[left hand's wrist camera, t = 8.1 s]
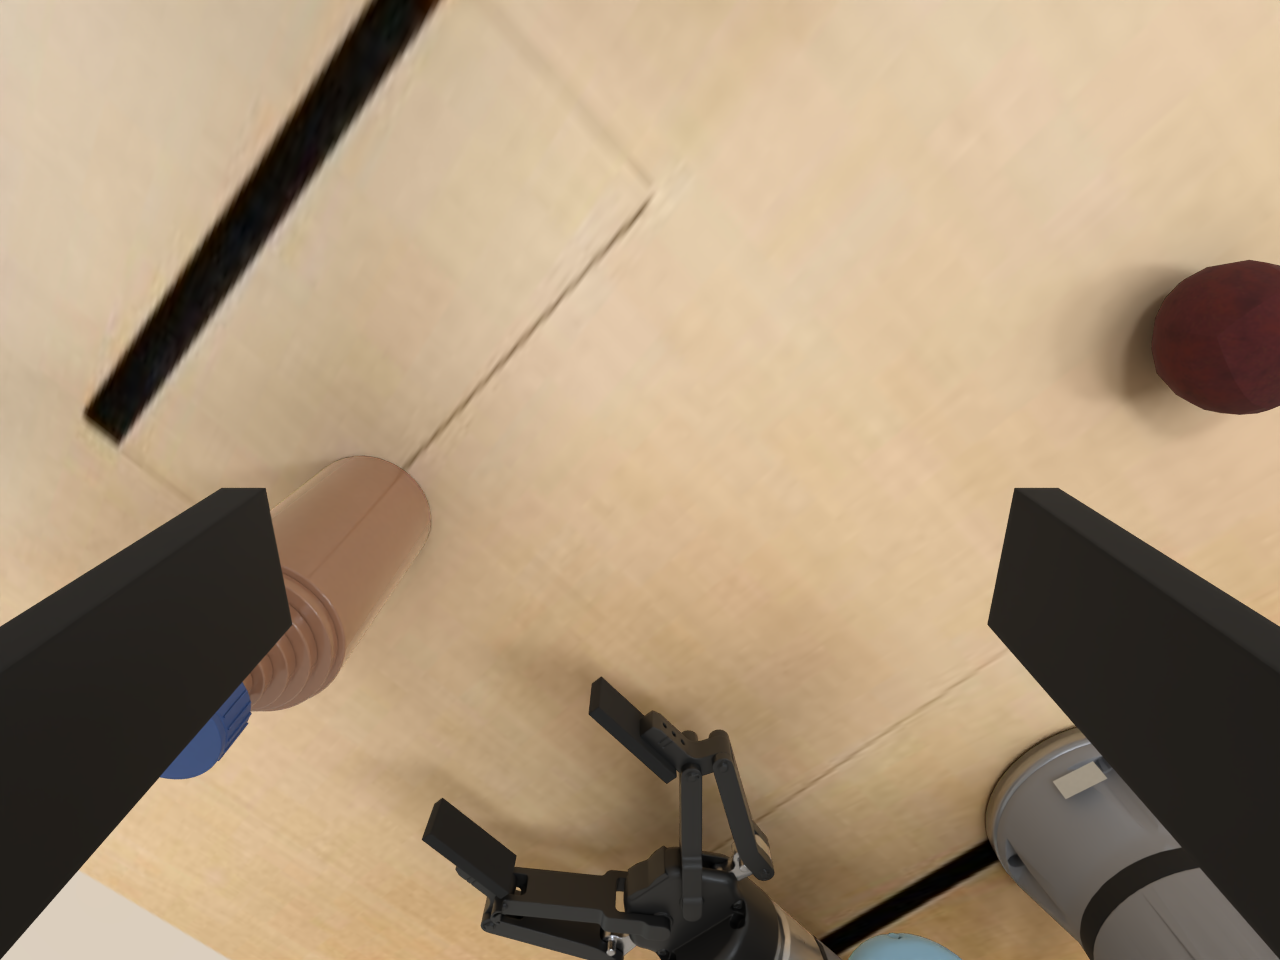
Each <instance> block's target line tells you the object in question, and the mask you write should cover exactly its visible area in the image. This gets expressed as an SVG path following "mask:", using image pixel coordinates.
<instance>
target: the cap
mask: <svg viewBox="0 0 1280 960" xmlns="http://www.w3.org/2000/svg"><path fill="white" fill-rule="evenodd" d="M250 715H251V700H250V697H249V694H248V691H247V689H246V687H245V685H244V683H243V682H242V683H241V684H240V685H239V686H238V688H237V689H236V690H235V691H234V692H233V693H232V695H231V696H230V697H229V698H228V699H227V700H226V701H225V703H224V704H223V705H222V706H221V707H220V708H219V709H218V711H217V712H216V713H215V714H214V715H213V716H212V717H211V719H210V720H209V721H208V722H207V723H206V724H205V725H204V727H203V728H202V729H201V730H200V731H199V732H198V734H197V735H196V736H195V737H194V738H193V739H192V740H191V742H190V743H189V744H188V745H187V746H186V747H185V748H184V750H183V751H182V752H181V753H180V754H179V755H178V756H177V758H176V759H175V760H174V761H173V762H172V763H171V764H170V766H169V767H168V768H167V769H166V770H165V771H164V773H163V774H162V775H161V776H160V777H161V778H167V779H187V778H192V777H196V776H198V775H201V774H203V773H204V772H206V771H208V770H209V769H210V768H212V767H213V765H214V764H215V763H216V762H217V761H219V760H220V759H221V758H222V756H223V755H224V754H225V753H226V751H227V750H228V749H229V748H230V746H231V745H232V744H233V743H234V741H235V740H236V739H237V737H238V736H239V735H240V734H241V732H242V731H243V730H244V728H245V727H246V726H247V725H248V723H247V721H248V719H249V717H250Z"/></svg>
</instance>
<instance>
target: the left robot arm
mask: <svg viewBox="0 0 1280 960" xmlns="http://www.w3.org/2000/svg"><path fill="white" fill-rule="evenodd" d="M292 625H293V624H292V619H291V614H290V609H289V604H288V599H287V594H286V589H285V584H284V579H283V574H282V569H281V564H280V559H279V554H278V549H277V544H276V539H275V534H274V529H273V524H272V519H271V514H270V508H269V503H268V498H267V493H266V488H221V489H219V490H218V491H216V492H215V493H213V494H211V495H210V496H208V497H207V498H205V499H203V500H202V501H200V502H199V503H197V504H195V505H194V506H192V507H191V508H189V509H187V510H186V511H184V512H183V513H181V514H179V515H178V516H176V517H175V518H173V519H171V520H170V521H168V522H167V523H165V524H163V525H162V526H160V527H159V528H157V529H155V530H154V531H152V532H151V533H149V534H147V535H146V536H144V537H143V538H141V539H140V540H138V541H136V542H135V543H133V544H132V545H130V546H128V547H127V548H125V549H124V550H122V551H120V552H119V553H117V554H116V555H114V556H112V557H111V558H109V559H108V560H106V561H104V562H103V563H101V564H100V565H98V566H96V567H95V568H93V569H92V570H90V571H88V572H87V573H85V574H84V575H82V576H80V577H79V578H77V579H76V580H74V581H72V582H71V583H69V584H68V585H66V586H64V587H63V588H61V589H60V590H58V591H56V592H55V593H53V594H52V595H50V596H48V597H47V598H45V599H44V600H42V601H41V602H39V603H37V604H36V605H34V606H33V607H31V608H29V609H28V610H26V611H25V612H23V613H21V614H20V615H18V616H17V617H15V618H13V619H12V620H10V621H9V622H7V623H5V624H4V625H2V626H1V627H0V959H1V958H2V957H3V956H4V955H5V954H6V953H7V951H8V950H9V949H10V948H11V947H12V946H13V945H14V943H15V942H16V941H17V940H18V939H19V938H20V936H21V935H22V934H23V933H24V932H25V931H26V930H27V928H28V927H29V926H30V925H31V924H32V923H33V922H34V920H35V919H36V918H37V917H38V916H39V915H40V914H41V912H42V911H43V910H44V909H45V908H46V907H47V906H48V904H49V903H50V902H51V901H52V900H53V899H54V897H55V896H56V895H57V894H58V893H59V892H60V891H61V889H62V888H63V887H64V886H65V885H66V884H67V883H68V881H69V880H70V879H71V878H72V877H73V876H74V875H75V873H76V872H77V871H78V870H79V869H80V868H81V867H82V865H83V864H84V863H85V862H86V861H87V860H88V859H89V857H90V856H91V855H92V854H93V853H94V852H95V850H96V849H97V848H98V847H99V846H100V845H101V844H102V842H103V841H104V840H105V839H106V838H107V837H108V836H109V834H110V833H111V832H112V831H113V830H114V829H115V828H116V826H117V825H118V824H119V823H120V822H121V821H122V820H123V818H124V817H125V816H126V815H127V814H128V813H129V811H130V810H131V809H132V808H133V807H134V806H135V805H136V803H137V802H138V801H139V800H140V799H141V798H142V797H143V795H144V794H145V793H146V792H147V791H148V790H149V789H150V787H151V786H152V785H153V784H154V783H155V782H156V781H157V779H158V778H159V777H160V776H161V775H162V774H163V773H164V771H165V770H166V769H167V768H168V767H169V766H170V764H171V763H172V762H173V761H174V760H175V759H176V758H177V756H178V755H179V754H180V753H181V752H182V751H183V750H184V748H185V747H186V746H187V745H188V744H189V743H190V742H191V740H192V739H193V738H194V737H195V736H196V735H197V734H198V732H199V731H200V730H201V729H202V728H203V727H204V725H205V724H206V723H207V722H208V721H209V720H210V719H211V717H212V716H213V715H214V714H215V713H216V712H217V711H218V709H219V708H220V707H221V706H222V705H223V704H224V703H225V701H226V700H227V699H228V698H229V697H230V696H231V695H232V693H233V692H234V691H235V690H236V689H237V688H238V686H239V685H240V684H241V683H242V682H243V681H244V680H245V678H246V677H247V676H248V675H249V674H250V673H251V672H252V670H253V669H254V668H255V667H256V666H257V665H258V664H259V662H260V661H261V660H262V659H263V658H264V657H265V656H266V654H267V653H268V652H269V651H270V650H271V649H272V648H273V646H274V645H275V644H276V643H277V642H278V641H279V639H280V638H281V637H282V636H283V635H284V634H285V633H286V631H287V630H288V629H289V628H290V627H291V626H292ZM987 625H988V626H989V627H990V628H991V629H992V630H993V631H994V633H995V634H996V635H997V636H998V637H999V638H1000V639H1001V641H1002V642H1003V643H1004V644H1005V645H1006V646H1007V648H1008V649H1009V650H1010V651H1011V652H1012V653H1013V654H1014V656H1015V657H1016V658H1017V659H1018V660H1019V661H1020V662H1021V664H1022V665H1023V666H1024V667H1025V668H1026V669H1027V670H1028V672H1029V673H1030V674H1031V675H1032V676H1033V677H1034V678H1035V680H1036V681H1037V682H1038V683H1039V684H1040V685H1041V686H1042V688H1043V689H1044V690H1045V691H1046V692H1047V693H1048V695H1049V696H1050V697H1051V698H1052V699H1053V700H1054V701H1055V703H1056V704H1057V705H1058V706H1059V707H1060V708H1061V709H1062V711H1063V712H1064V713H1065V714H1066V715H1067V716H1068V717H1069V719H1070V720H1071V721H1072V722H1073V723H1074V724H1075V725H1076V727H1077V728H1078V729H1079V730H1080V731H1081V732H1082V734H1083V735H1084V736H1085V737H1086V738H1087V739H1088V740H1089V742H1090V743H1091V744H1092V745H1093V746H1094V747H1095V748H1096V750H1097V751H1098V752H1099V753H1100V754H1101V755H1102V756H1103V758H1104V759H1105V760H1106V761H1107V762H1108V763H1109V764H1110V766H1111V767H1112V768H1113V769H1114V770H1115V771H1116V773H1117V774H1118V775H1119V776H1120V777H1121V778H1122V779H1123V781H1124V782H1125V783H1126V784H1127V785H1128V786H1129V787H1130V789H1131V790H1132V791H1133V792H1134V793H1135V794H1136V795H1137V797H1138V798H1139V799H1140V800H1141V801H1142V802H1143V803H1144V805H1145V806H1146V807H1147V808H1148V809H1149V810H1150V811H1151V813H1152V814H1153V815H1154V816H1155V817H1156V818H1157V820H1158V821H1159V822H1160V823H1161V824H1162V825H1163V826H1164V828H1165V829H1166V830H1167V831H1168V832H1169V833H1170V834H1171V836H1172V837H1173V838H1174V839H1175V840H1176V841H1177V842H1178V844H1179V845H1180V846H1181V847H1182V848H1183V849H1184V850H1185V852H1186V853H1187V854H1188V855H1189V856H1190V857H1191V859H1192V860H1193V861H1194V862H1195V863H1196V864H1197V865H1198V867H1199V868H1200V869H1201V870H1202V871H1203V872H1204V873H1205V875H1206V876H1207V877H1208V878H1209V879H1210V880H1211V881H1212V883H1213V884H1214V885H1215V886H1216V887H1217V888H1218V889H1219V891H1220V892H1221V893H1222V894H1223V895H1224V896H1225V898H1226V899H1227V900H1228V901H1229V902H1230V903H1231V904H1232V906H1233V907H1234V908H1235V909H1236V910H1237V911H1238V912H1239V914H1240V915H1241V916H1242V917H1243V918H1244V919H1245V920H1246V922H1247V923H1248V924H1249V925H1250V926H1251V927H1252V928H1253V930H1254V931H1255V932H1256V933H1257V934H1258V935H1259V936H1260V938H1261V939H1262V940H1263V941H1264V942H1265V943H1266V945H1267V946H1268V947H1269V948H1270V949H1271V950H1272V951H1273V953H1274V954H1275V955H1276V956H1277V957H1278V958H1279V959H1280V627H1279V626H1278V625H1276V624H1275V623H1273V622H1271V621H1270V620H1268V619H1267V618H1265V617H1263V616H1262V615H1260V614H1259V613H1257V612H1255V611H1254V610H1252V609H1251V608H1249V607H1247V606H1246V605H1244V604H1243V603H1241V602H1239V601H1238V600H1236V599H1235V598H1233V597H1232V596H1230V595H1228V594H1227V593H1225V592H1224V591H1222V590H1220V589H1219V588H1217V587H1216V586H1214V585H1212V584H1211V583H1209V582H1208V581H1206V580H1204V579H1203V578H1201V577H1200V576H1198V575H1196V574H1195V573H1193V572H1192V571H1190V570H1188V569H1187V568H1185V567H1184V566H1182V565H1180V564H1179V563H1177V562H1176V561H1174V560H1172V559H1171V558H1169V557H1168V556H1166V555H1164V554H1163V553H1161V552H1160V551H1158V550H1156V549H1155V548H1153V547H1152V546H1150V545H1148V544H1147V543H1145V542H1144V541H1142V540H1140V539H1139V538H1137V537H1136V536H1134V535H1133V534H1131V533H1129V532H1128V531H1126V530H1125V529H1123V528H1121V527H1120V526H1118V525H1117V524H1115V523H1113V522H1112V521H1110V520H1109V519H1107V518H1105V517H1104V516H1102V515H1101V514H1099V513H1097V512H1096V511H1094V510H1093V509H1091V508H1089V507H1088V506H1086V505H1085V504H1083V503H1081V502H1080V501H1078V500H1077V499H1075V498H1073V497H1072V496H1070V495H1069V494H1067V493H1065V492H1064V491H1062V490H1061V489H1059V488H1014V493H1013V498H1012V503H1011V508H1010V513H1009V519H1008V524H1007V529H1006V534H1005V539H1004V544H1003V549H1002V554H1001V559H1000V564H999V569H998V574H997V579H996V584H995V589H994V594H993V599H992V604H991V609H990V614H989V619H988V624H987Z"/></svg>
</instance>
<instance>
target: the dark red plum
mask: <svg viewBox="0 0 1280 960" xmlns="http://www.w3.org/2000/svg"><path fill="white" fill-rule="evenodd" d="M1152 353H1153V358H1154V362H1155V367H1156V372H1157V374H1158V375H1159V376H1160V377H1161V378H1162V379H1163V381H1164V382H1165V383H1166V384H1167V385H1168V386H1169V387H1170V388H1171V389H1172V390H1173V392H1174V393H1175V394H1176V395H1178V396H1180V397H1181V398H1183V399H1185V400H1187V401H1188V402H1190V403H1192V404H1194V405H1196V406H1198V407H1200V408H1202V409H1204V410H1209V411H1214V412H1219V413H1227V414H1238V415H1242V414H1254V413H1260V412H1264V411H1267V410H1270V409H1273V408H1275V407H1278V406H1280V266H1279V265H1274V264H1270V263H1265V262H1259V261H1253V260H1246V261H1240V262H1235V263H1229V264H1223V265H1218V266H1212V267H1207V268H1205V269H1203V270H1201V271H1199V272H1197V273H1195V274H1194V275H1192V276H1190V277H1188V278H1186V279H1184V280H1183V281H1182V282H1180V283H1179V284H1178V285H1177V286H1176V287H1175V288H1174V289H1173V291H1172V292H1171V293H1170V294H1169V295H1168V296H1167V297H1166V298H1165V299H1164V301H1163V303H1162V305H1161V307H1160V310H1159V312H1158V314H1157V316H1156V318H1155V324H1154V331H1153V337H1152Z"/></svg>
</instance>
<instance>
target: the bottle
mask: <svg viewBox="0 0 1280 960" xmlns="http://www.w3.org/2000/svg"><path fill="white" fill-rule="evenodd" d="M270 514H271V519H272V524H273V529H274V534H275V539H276V544H277V549H278V554H279V559H280V564H281V569H282V574H283V579H284V584H285V589H286V594H287V599H288V604H289V609H290V614H291V619H292V624H293V625H292V626H291V627H290V628H289V629H288V630H287V631H286V633H285V634H284V635H283V636H282V637H281V638H280V639H279V641H278V642H277V643H276V644H275V645H274V646H273V648H272V649H271V650H270V651H269V652H268V653H267V654H266V656H265V657H264V658H263V659H262V660H261V661H260V662H259V664H258V665H257V666H256V667H255V668H254V669H253V670H252V672H251V673H250V674H249V675H248V676H247V677H246V678H245V680H244V681H243V683H244V685H245V687H246V689H247V691H248V694H249V697H250V700H251V711H275V710H282V709H286V708H290V707H292V706H295V705H298V704H300V703H302V702H303V701H305V700H307V699H309V698H311V697H313V696H314V695H316V694H318V693H320V692H321V691H322V690H324V689H325V688H326V687H327V686H328V685H329V684H330V683H331V682H332V681H333V680H334V679H335V677H336V676H337V674H338V673H339V671H340V670H341V668H342V667H343V665H344V664H345V662H346V661H347V660H348V658H349V657H350V655H351V654H352V652H353V651H354V649H355V648H356V646H357V645H358V643H359V642H360V640H361V639H362V637H363V636H364V634H365V633H366V631H367V630H368V628H369V627H370V625H371V624H372V622H373V621H374V619H375V618H376V616H377V615H378V613H379V612H380V610H381V609H382V607H383V606H384V604H385V603H386V601H387V600H388V598H389V597H390V595H391V594H392V592H393V591H394V589H395V588H396V586H397V585H398V583H399V582H400V580H401V579H402V577H403V576H404V574H405V573H406V571H407V570H408V568H409V567H410V565H411V564H412V562H413V561H414V559H415V558H416V556H417V555H418V553H419V552H420V550H421V549H422V547H423V546H424V544H425V542H426V540H427V538H428V535H429V532H430V526H431V514H430V508H429V505H428V501H427V499H426V497H425V494H424V493H423V491H422V489H421V488H420V486H419V485H418V484H417V482H416V481H415V480H414V479H413V478H412V477H411V476H410V475H409V474H408V473H406V472H405V471H404V470H402V469H401V468H399V467H398V466H396V465H394V464H392V463H390V462H388V461H385V460H382V459H379V458H374V457H368V456H353V457H347V458H343V459H340V460H338V461H335V462H333V463H331V464H330V465H328V466H327V467H325V468H324V469H323V470H321V471H320V472H319V473H317V474H316V475H315V476H314V477H312V478H311V479H310V480H309V481H307V482H306V483H305V484H303V485H302V486H301V487H300V488H298V489H297V490H296V491H294V492H293V493H292V494H291V495H289V496H288V497H287V498H285V499H284V500H283V501H282V502H280V503H279V504H278V505H276V506H275V507H274V508H273V509H271V510H270Z"/></svg>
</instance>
